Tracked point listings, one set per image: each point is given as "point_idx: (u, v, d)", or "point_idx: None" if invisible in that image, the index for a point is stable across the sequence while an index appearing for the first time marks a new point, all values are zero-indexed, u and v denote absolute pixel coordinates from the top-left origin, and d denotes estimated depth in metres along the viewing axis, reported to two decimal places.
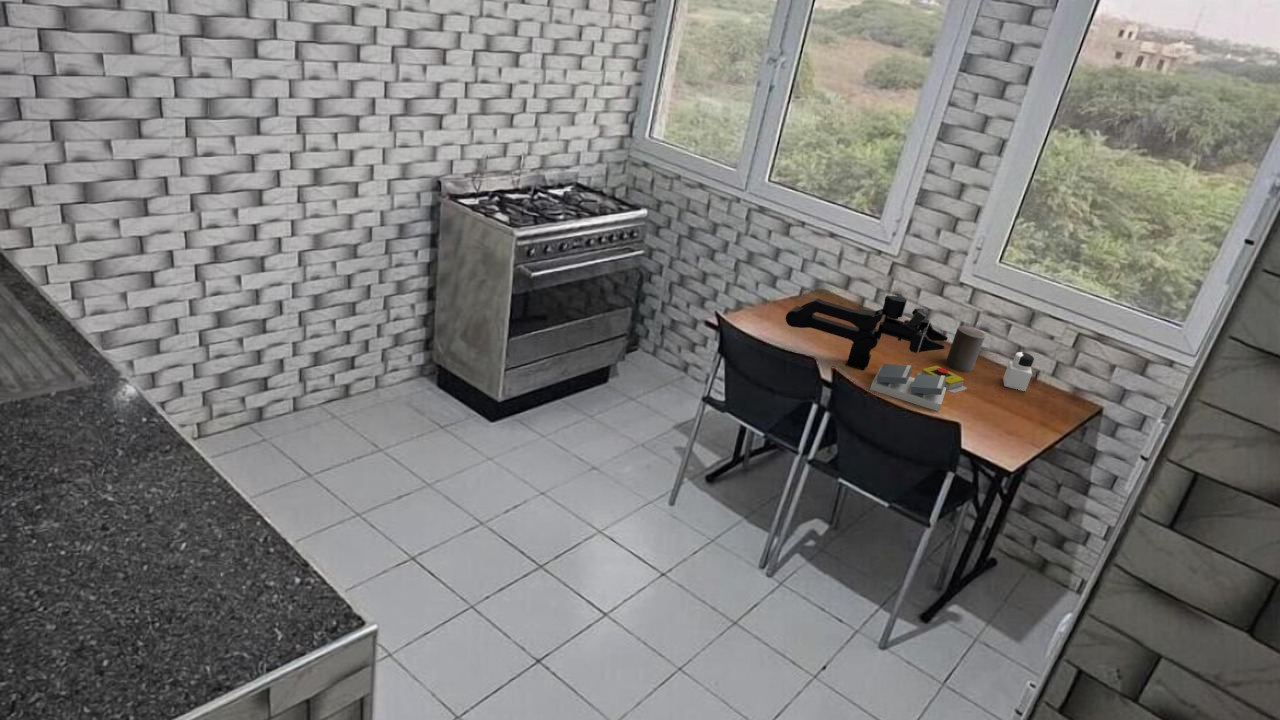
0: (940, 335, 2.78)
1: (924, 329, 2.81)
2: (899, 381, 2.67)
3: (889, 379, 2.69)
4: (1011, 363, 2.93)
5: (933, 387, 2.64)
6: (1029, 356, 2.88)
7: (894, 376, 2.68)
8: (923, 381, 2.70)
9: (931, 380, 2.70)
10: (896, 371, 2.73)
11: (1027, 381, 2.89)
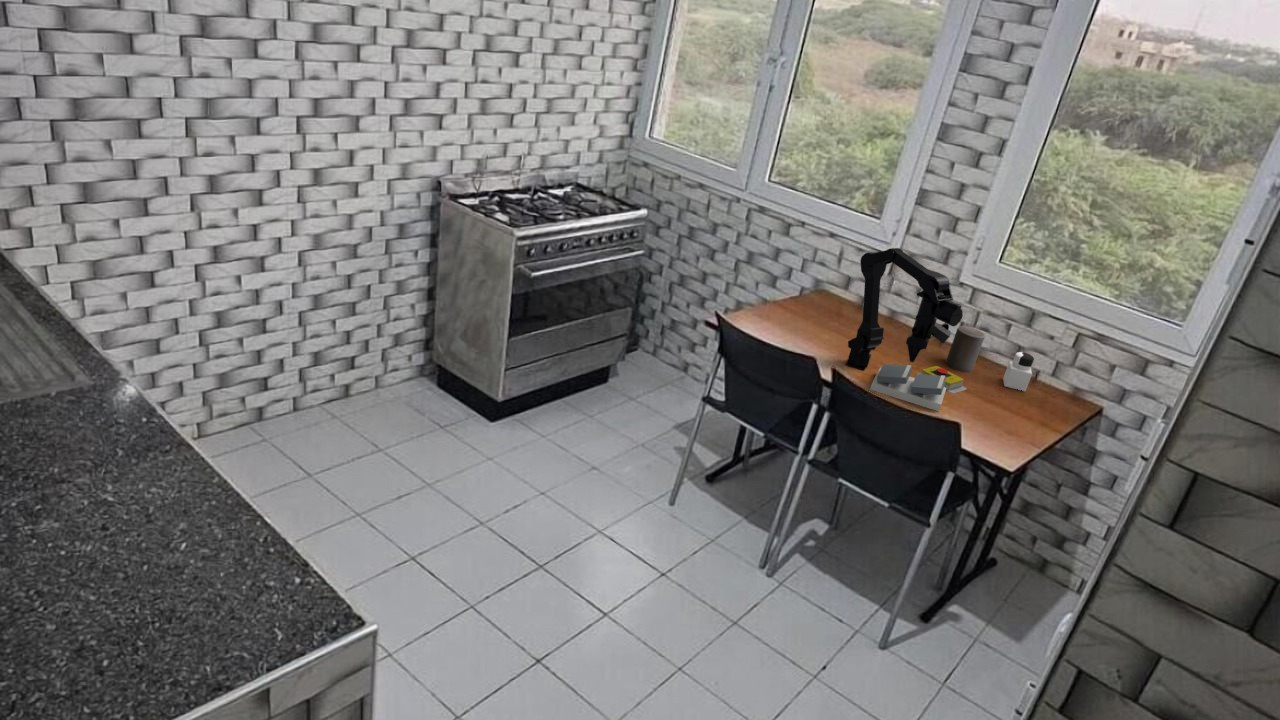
0: None
1: None
2: (899, 381, 2.67)
3: (889, 379, 2.69)
4: (1011, 363, 2.93)
5: (933, 387, 2.64)
6: (1029, 356, 2.88)
7: (894, 376, 2.68)
8: (923, 381, 2.70)
9: (931, 380, 2.70)
10: (896, 371, 2.73)
11: (1027, 381, 2.89)
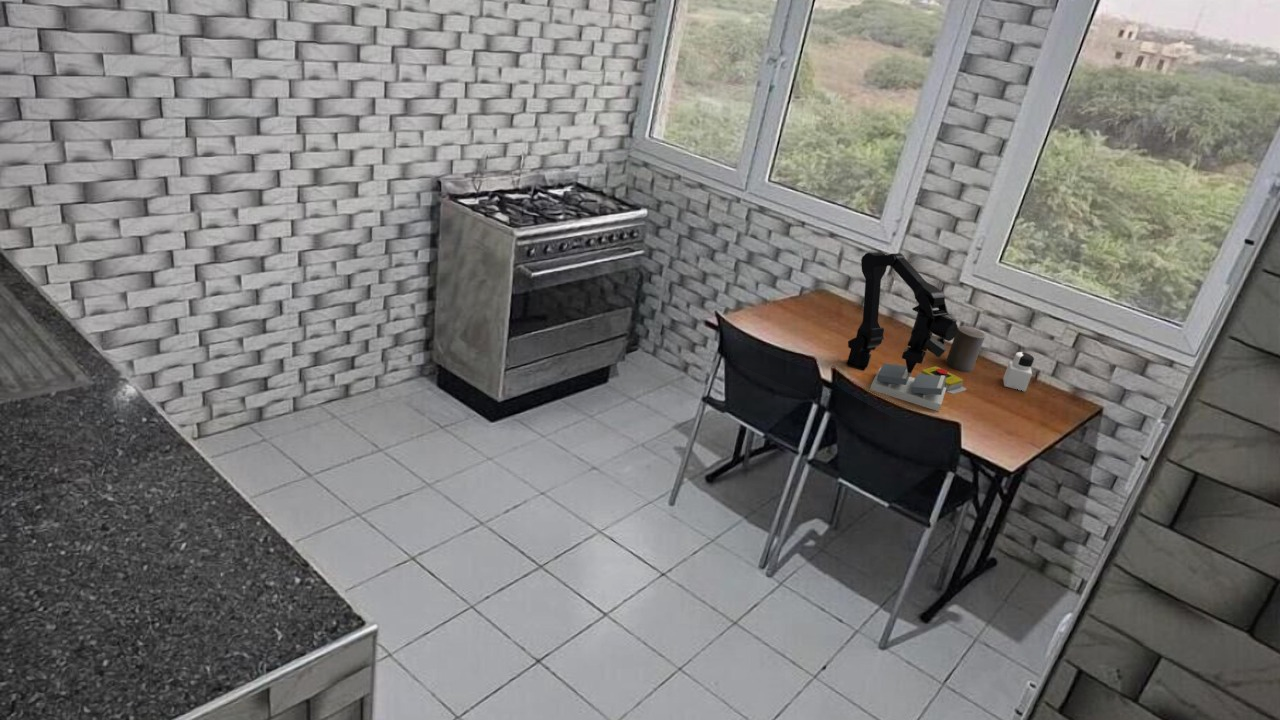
0: None
1: None
2: (899, 382, 2.68)
3: (889, 379, 2.69)
4: (1011, 363, 2.93)
5: (933, 387, 2.64)
6: (1029, 356, 2.88)
7: (894, 376, 2.68)
8: (923, 381, 2.70)
9: (931, 380, 2.70)
10: (896, 371, 2.73)
11: (1027, 381, 2.89)
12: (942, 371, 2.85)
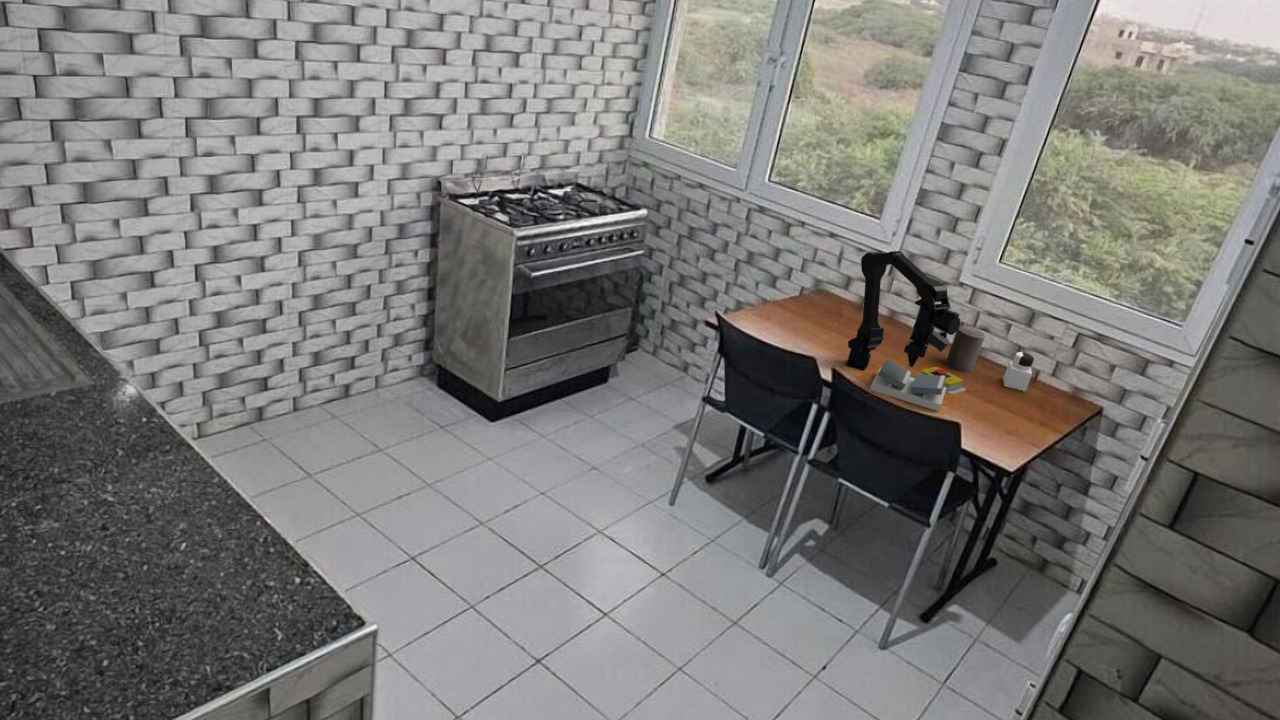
0: None
1: None
2: (897, 384, 2.68)
3: (889, 378, 2.68)
4: (1011, 363, 2.93)
5: (933, 387, 2.64)
6: (1029, 356, 2.88)
7: (895, 378, 2.68)
8: (923, 381, 2.70)
9: (931, 380, 2.70)
10: (897, 372, 2.72)
11: (1027, 381, 2.89)
12: (942, 371, 2.85)
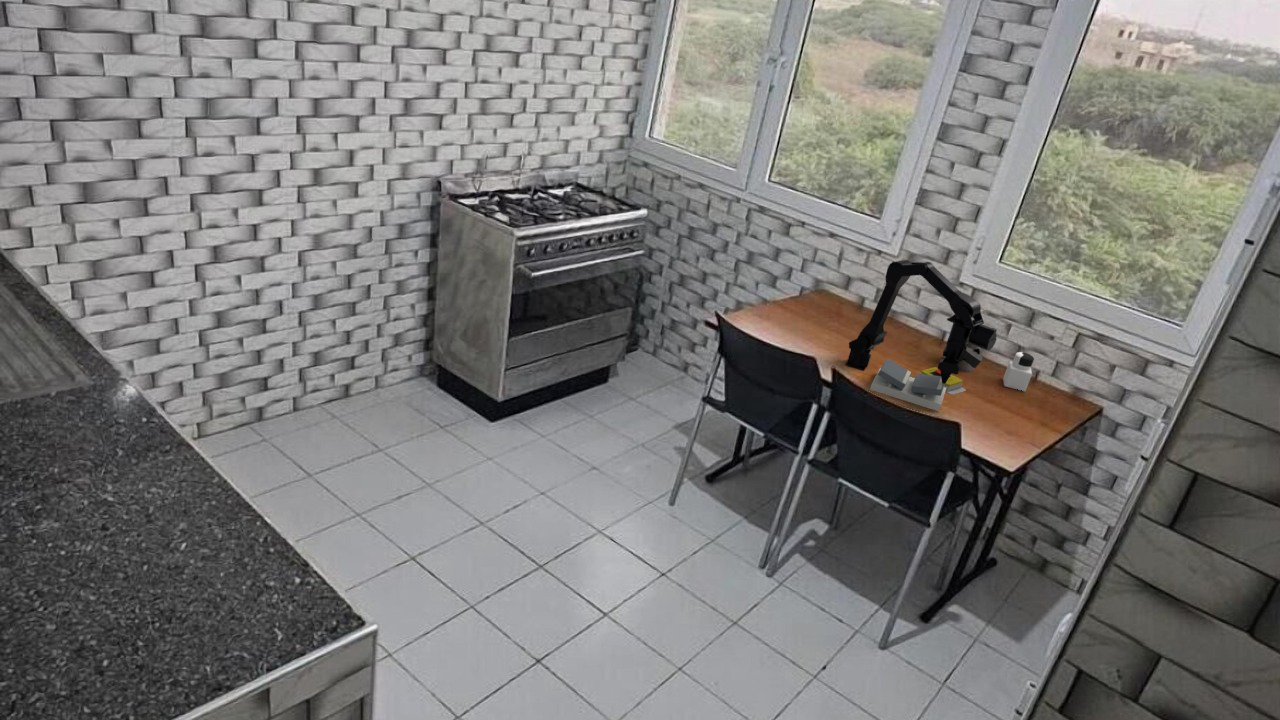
0: None
1: (953, 360, 2.65)
2: (897, 384, 2.68)
3: (889, 378, 2.68)
4: (1011, 363, 2.93)
5: (933, 387, 2.64)
6: (1029, 356, 2.88)
7: (895, 378, 2.68)
8: (923, 381, 2.70)
9: (931, 381, 2.70)
10: (897, 372, 2.72)
11: (1027, 381, 2.89)
12: None
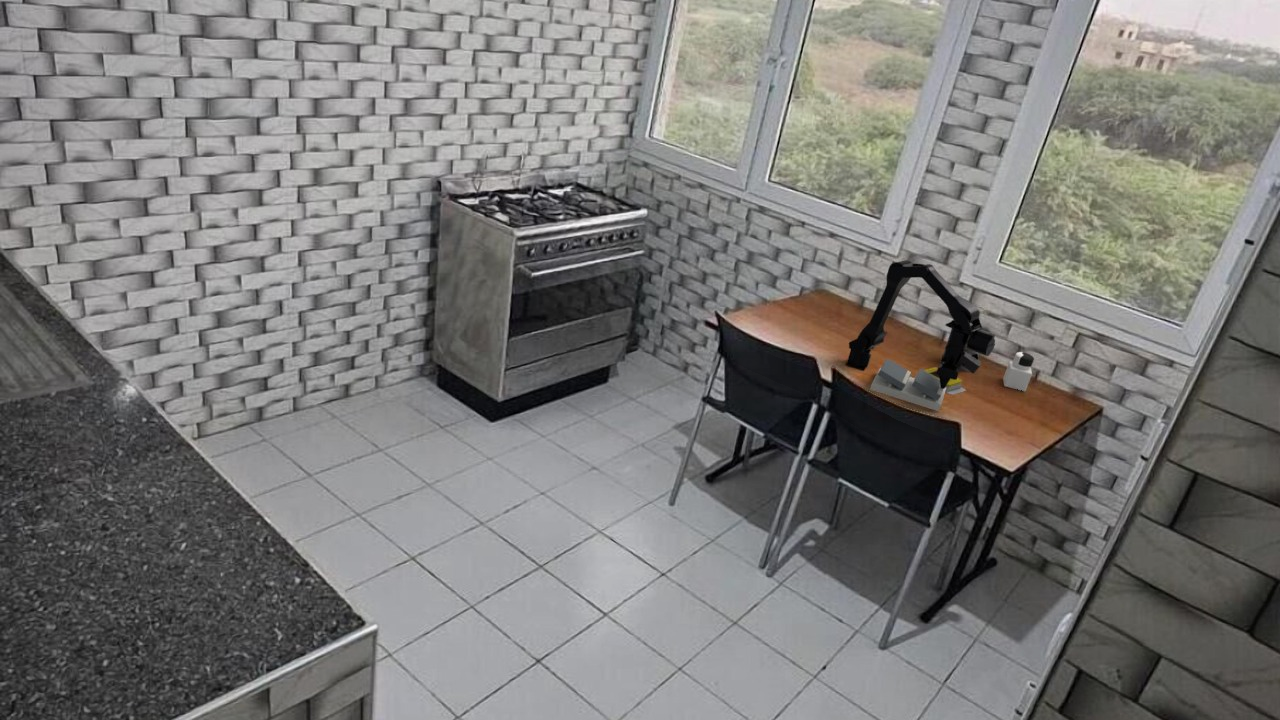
0: None
1: None
2: (897, 384, 2.68)
3: (889, 378, 2.68)
4: (1011, 363, 2.93)
5: (934, 390, 2.65)
6: (1029, 356, 2.88)
7: (895, 378, 2.68)
8: (925, 379, 2.69)
9: (932, 382, 2.70)
10: (897, 372, 2.72)
11: (1027, 381, 2.89)
12: None
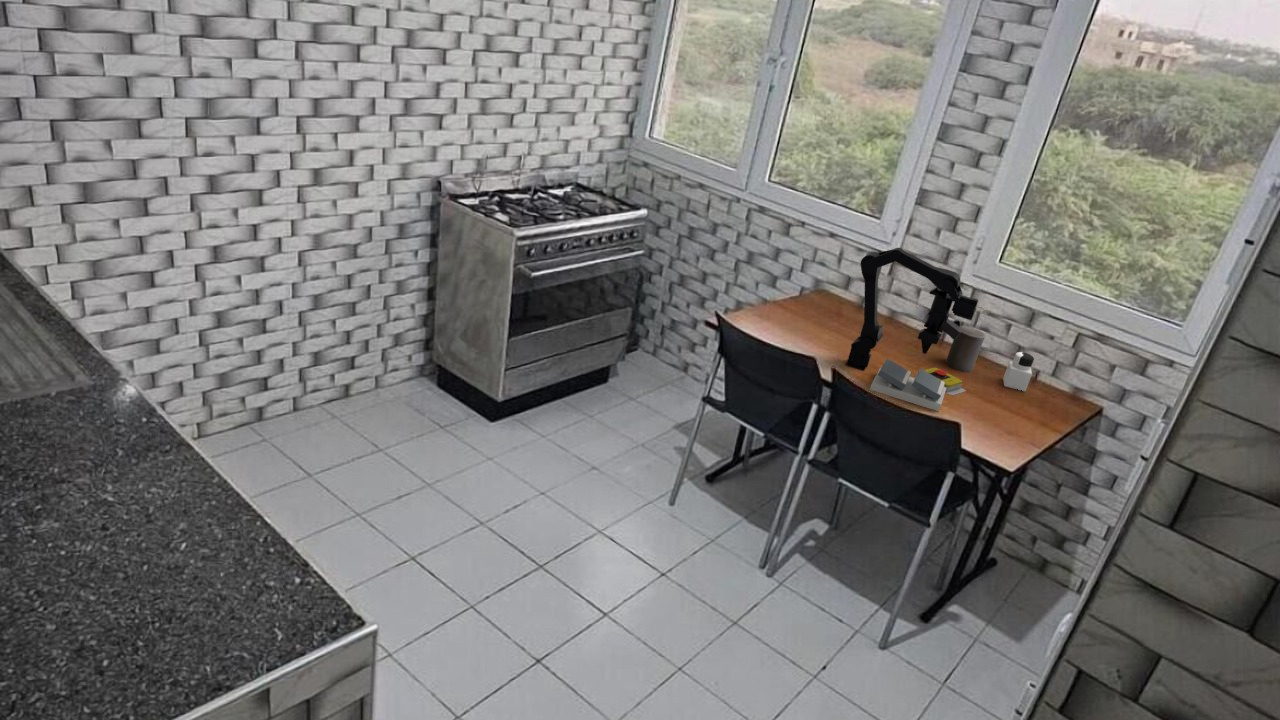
0: None
1: None
2: (897, 384, 2.68)
3: (889, 378, 2.68)
4: (1011, 363, 2.93)
5: (934, 390, 2.65)
6: (1029, 356, 2.88)
7: (895, 378, 2.68)
8: (925, 379, 2.69)
9: (932, 382, 2.70)
10: (897, 372, 2.72)
11: (1027, 381, 2.89)
12: (941, 372, 2.84)
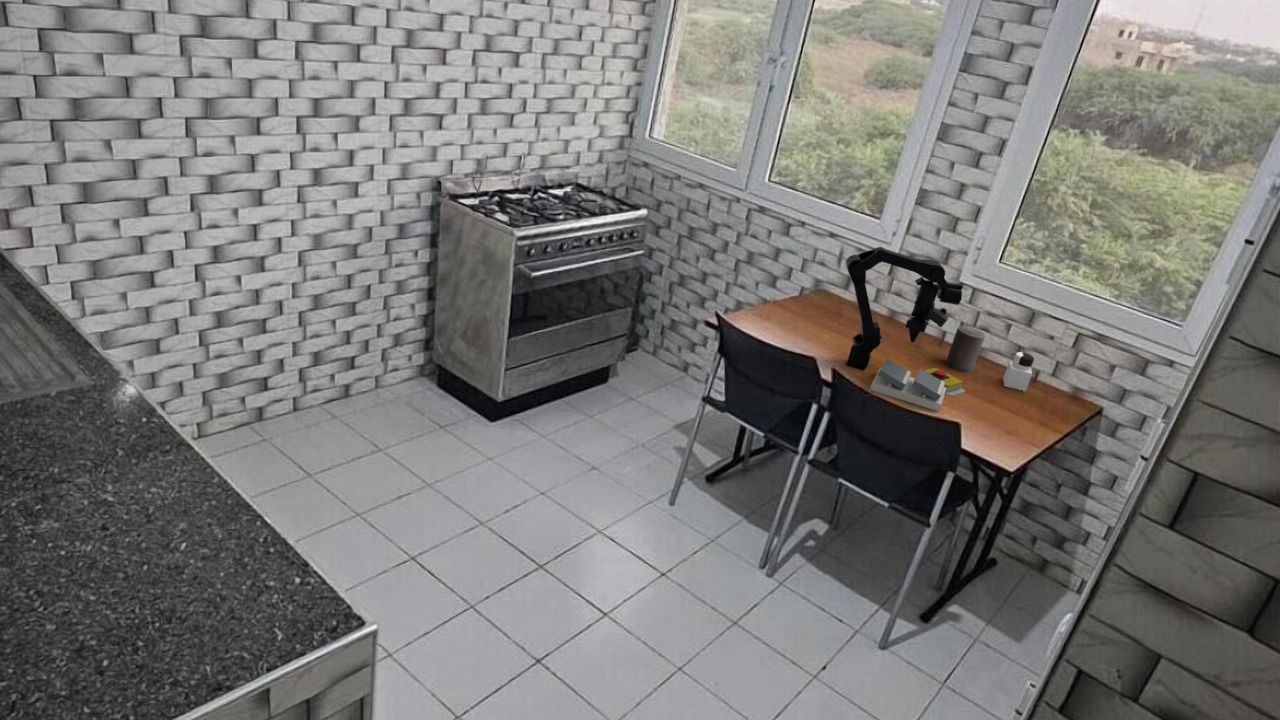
0: None
1: None
2: (897, 384, 2.68)
3: (889, 378, 2.68)
4: (1011, 363, 2.93)
5: (934, 390, 2.65)
6: (1029, 356, 2.88)
7: (895, 378, 2.68)
8: (925, 379, 2.69)
9: (932, 382, 2.70)
10: (897, 372, 2.72)
11: (1027, 381, 2.89)
12: (941, 373, 2.84)
